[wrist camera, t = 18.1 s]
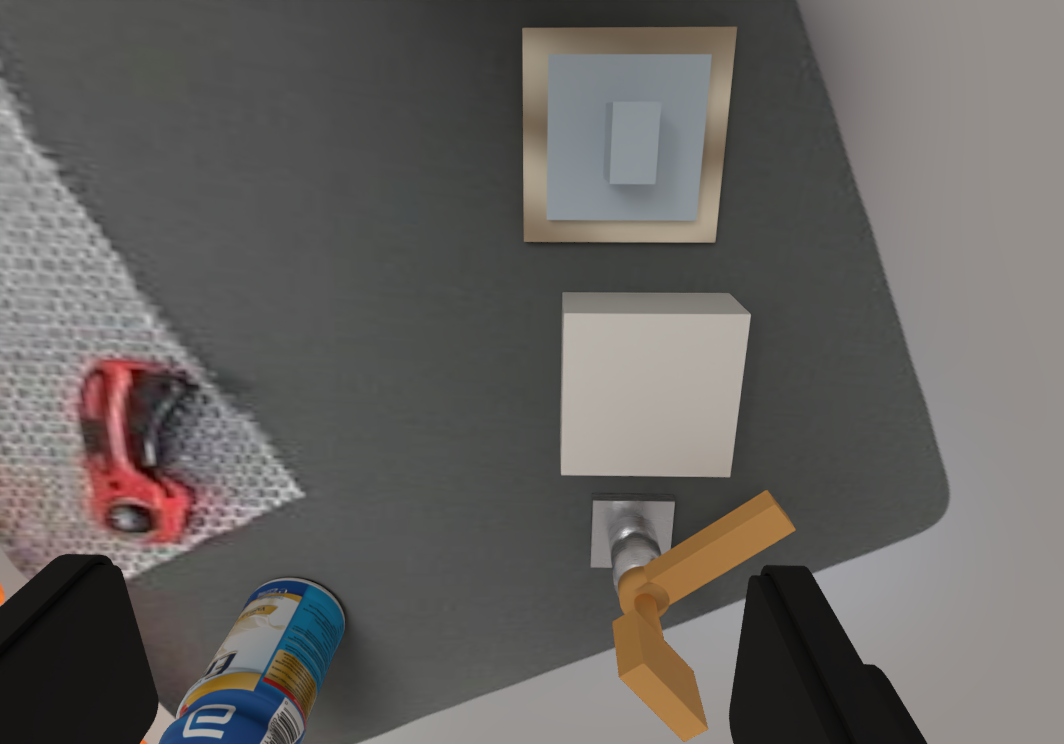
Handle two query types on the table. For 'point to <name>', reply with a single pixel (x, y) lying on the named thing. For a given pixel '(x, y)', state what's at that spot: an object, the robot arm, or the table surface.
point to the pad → (623, 42)
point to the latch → (665, 582)
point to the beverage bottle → (264, 670)
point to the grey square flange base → (629, 530)
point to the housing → (650, 383)
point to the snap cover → (625, 135)
